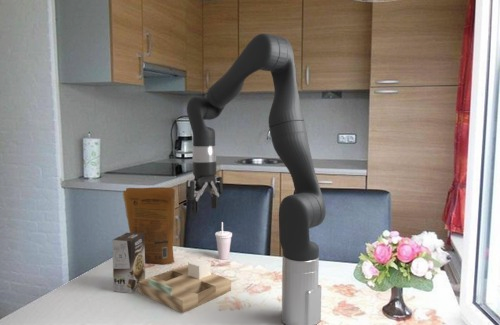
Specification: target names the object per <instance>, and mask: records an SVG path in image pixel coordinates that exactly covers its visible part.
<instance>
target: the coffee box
mask: <svg viewBox="0 0 500 325" xmlns="http://www.w3.org/2000/svg"><path fill="white" fill-rule="evenodd" d="M112 272H113V273H112V276H113V292H118V293H128V294H133V293H134V292H135V291H136V290H138V289H139V281H142V280H145V279H146V263H145V241H144V233H130V232H125V233H123V234H121V235H119V236H117V237H116V238H114V239H112Z"/></svg>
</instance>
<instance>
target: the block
mask: <svg viewBox="0 0 500 325" xmlns="http://www.w3.org/2000/svg"><path fill="white" fill-rule="evenodd" d="M187 265H188V275H189V276H192V277H194V278H197V279H201V278H204V277H206V276H209V275H211V273H212V262H211V261H207V260H205V259H202V258H198V259H195V260H192V261H190V262H187Z"/></svg>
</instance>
